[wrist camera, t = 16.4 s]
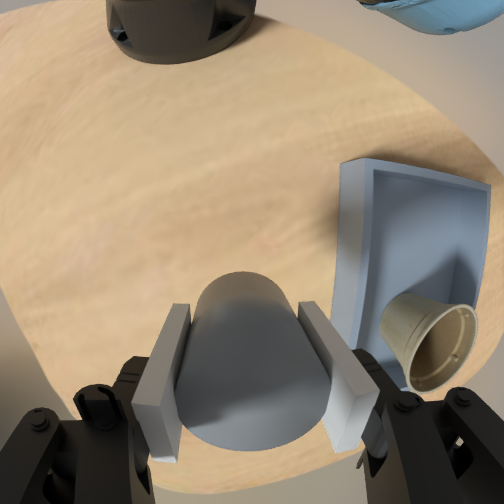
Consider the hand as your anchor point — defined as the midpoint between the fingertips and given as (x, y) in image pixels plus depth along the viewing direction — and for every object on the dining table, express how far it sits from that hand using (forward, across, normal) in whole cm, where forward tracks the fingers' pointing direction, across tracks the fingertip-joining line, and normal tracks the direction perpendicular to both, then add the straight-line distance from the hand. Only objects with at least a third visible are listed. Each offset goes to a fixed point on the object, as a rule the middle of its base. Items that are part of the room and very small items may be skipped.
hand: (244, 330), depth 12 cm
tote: (+13, +18, -3) cm, 23 cm away
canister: (+2, 0, 0) cm, 2 cm away
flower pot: (+12, +18, -7) cm, 23 cm away
